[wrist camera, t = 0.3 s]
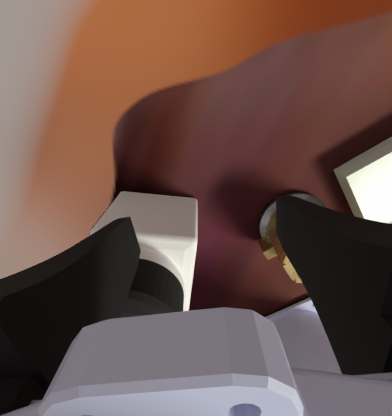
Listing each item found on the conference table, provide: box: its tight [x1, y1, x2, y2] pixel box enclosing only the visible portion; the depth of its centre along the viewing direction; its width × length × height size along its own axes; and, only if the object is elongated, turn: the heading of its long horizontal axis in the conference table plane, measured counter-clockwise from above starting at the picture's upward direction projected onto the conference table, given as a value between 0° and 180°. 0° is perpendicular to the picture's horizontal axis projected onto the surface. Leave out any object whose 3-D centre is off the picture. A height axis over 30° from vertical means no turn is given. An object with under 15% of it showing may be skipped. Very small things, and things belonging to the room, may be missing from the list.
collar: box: [258, 210, 302, 283], centre depth 20 cm, size 5×6×5 cm
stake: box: [259, 192, 326, 238], centre depth 20 cm, size 6×6×6 cm
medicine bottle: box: [90, 191, 197, 318], centre depth 18 cm, size 7×7×12 cm
